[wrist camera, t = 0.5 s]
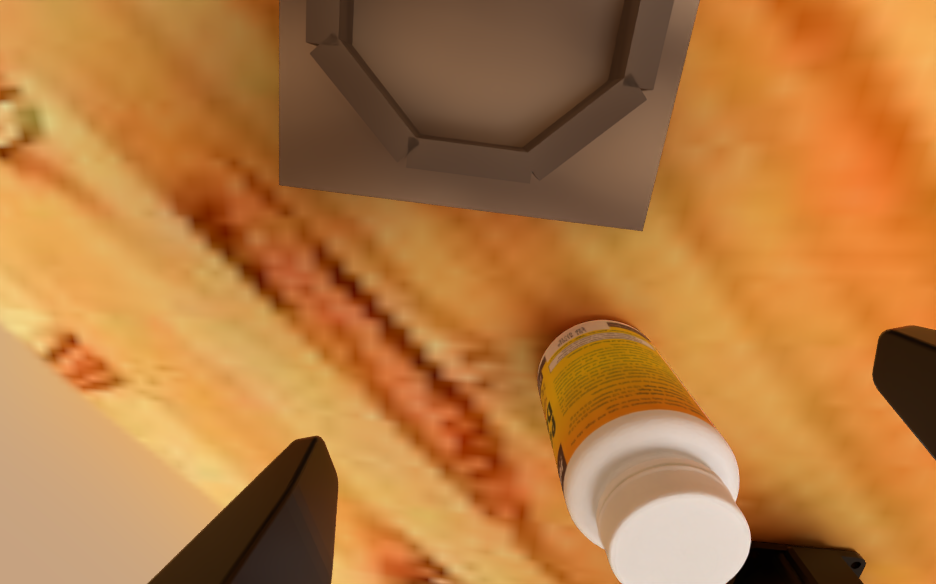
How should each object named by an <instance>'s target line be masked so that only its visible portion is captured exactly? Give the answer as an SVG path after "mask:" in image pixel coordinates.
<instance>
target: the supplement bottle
mask: <svg viewBox="0 0 936 584" xmlns="http://www.w3.org/2000/svg"><path fill="white" fill-rule="evenodd" d="M538 389H539V394H540V398H541V403H542V407H543V411H544V415H545V420H546V423H547V428H548V432H549V436H550V440H551V444H552V448H553V452H554V456H555V460H556V464H557V468H558V473H559V477H560V481H561V485H562V490H563V494H564V498H565V501H566V505H567V508H568V511H569V513H570V516H571V518H572V520H573V521H574V523H575V525H576V526H577V527H578V529H579V530H580V531H581V532H582V533H583V534H584V535H585V536H586V537H587V538H588V539H589V540H590V541H592V542H593V543H595V544H596V545H598V546H599V547H601V548H603V549H605V551H606V554H607V557H608V561H609V563H610V566H611V569H612V571H613V573H614V574H615V576H616V577H617V579H618V580H619V581H620V582H621V583H622V584H726V583H727V582H728V581H729V580H731V579H732V578H733V577H734V576H735V575H736V574H737V573H738V572H739V570H740V569H741V567H742V566H743V564H744V563H745V561H746V559H747V556H748V554H749V550H750V544H751V534H750V529H749V526H748V523H747V520H746V519H745V517H744V515H743V513H742V512H741V510H740V509H739V507H738V506H737V504H736V503H735V502H736V499H737V496H738V491H739V469H738V465H737V461H736V459H735V456H734V454H733V452H732V450H731V448H730V446H729V445H728V443H727V442H726V441H725V439H724V438H723V437H722V435H721V434H720V433H719V431H718V430H717V429H716V427H715V426H714V425H713V424H712V422H711V421H710V420H709V418H708V417H707V416H706V414H705V413H704V412H703V410H702V409H701V408H700V406H699V405H698V403H697V402H696V401H695V400H694V398H693V397H692V396H691V394H690V393H689V392H688V390H687V389H686V388H685V386H684V385H683V384H682V382H681V381H680V380H679V378H678V377H677V376H676V374H675V373H674V372H673V370H672V369H671V368H670V366H669V365H668V364H667V362H666V361H665V360H664V359H663V357H662V356H661V355H660V353H659V352H658V351H657V349H656V348H655V347H654V346H653V344H652V343H651V342H650V341H649V339H648V338H647V337H646V336H645V335H644V334H642V333H641V332H640V331H638V330H637V329H635V328H633V327H631V326H629V325H627V324H624V323H621V322H617V321H612V320H593V321H588V322H584V323H581V324H578V325H575V326H573V327H571V328H569V329H568V330H566V331H564V332H563V333H562V334H560V335H559V336H558V337H557V338H556V339H555V340H554V341H553V342H552V343H551V344H550V345H549V347H548V348H547V350H546V351H545V353H544V355H543V357H542V359H541V361H540V365H539V369H538Z"/></svg>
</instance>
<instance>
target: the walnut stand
mask: <svg viewBox="0 0 936 584" xmlns="http://www.w3.org/2000/svg"><path fill="white" fill-rule="evenodd" d="M699 1H700V0H279V185H282V186H290V187H298V188H306V189H313V190H321V191H329V192H337V193H345V194H353V195H361V196H369V197H377V198H385V199H392V200H400V201H408V202H416V203H424V204H432V205H440V206H448V207H456V208H464V209H472V210H479V211H487V212H495V213H503V214H511V215H519V216H527V217H535V218H543V219H551V220H559V221H566V222H574V223H582V224H590V225H598V226H606V227H614V228H622V229H630V230H638V231H643V227H644V223H645V219H646V215H647V211H648V207H649V203H650V199H651V195H652V191H653V187H654V183H655V178H656V174H657V170H658V166H659V162H660V158H661V154H662V150H663V146H664V142H665V138H666V134H667V130H668V126H669V122H670V118H671V114H672V110H673V106H674V102H675V98H676V94H677V90H678V86H679V82H680V78H681V74H682V70H683V66H684V62H685V58H686V54H687V50H688V46H689V42H690V38H691V33H692V29H693V25H694V21H695V17H696V13H697V9H698V5H699Z"/></svg>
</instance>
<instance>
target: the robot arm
mask: <svg viewBox="0 0 936 584" xmlns="http://www.w3.org/2000/svg"><path fill="white" fill-rule="evenodd" d="M872 376H873V381H874V384H875V386H876V388H877V389H878V391H879V392H880V393H881V394H882V396H883V397H884V398H885V399H886V400H887V402H888V403H889V404H890V405H891V407H892V408H893V409H894V410H895V411H896V413H897V414H898V415H899V416H900V417H901V419H902V420H903V421H904V422H905V424H906V425H907V426H908V427H909V428H910V430H911V431H912V432H913V433H914V435H915V436H916V437H917V438H918V439H919V441H920V442H921V443H922V444H923V445H924V447H925V448H926V449H927V450H928V452H929V453H930V454H931V455H932V456H933V458H934V459H935V460H936V330H933V329H928V328H924V327H919V326H904V327H899V328H893V329H888V330H886V331H884V332H882V333H881V335H880V336H879V339H878V344H877V349H876V355H875V361H874V366H873V373H872ZM337 499H338V478H337V473H336V470H335V468H334V465H333V463H332V460H331V458H330V455H329V452H328V450H327V447H326V445H325V442H324V441H323V439H322V438H321V437H319V436H312V437H307V438H301V439H297V440H295V441H293V442H292V443H291V444H290V445H289V446H288V447H287V448H286V449H285V450H284V451H283V452H282V453H281V454H280V455H279V456H278V457H277V458H276V459H274V460H273V461H272V462H271V463H270V464H269V465H268V466H267V467H266V468H265V469H264V470H263V471H262V472H261V473H260V474H259V475H258V476H257V477H256V478H255V479H254V480H253V481H252V482H251V483H250V484H249V485H248V486H247V487H246V488H245V489H244V490H243V491H242V492H241V493H240V494H239V495H238V496H237V497H236V498H235V499H234V500H233V501H231V502H230V503H229V504H228V505H227V506H226V507H225V508H224V509H223V510H222V511H221V512H220V513H219V514H218V515H217V516H216V517H215V518H214V519H213V520H212V521H211V522H210V523H209V524H208V525H207V526H206V527H205V528H204V529H203V530H202V531H201V532H200V533H199V534H198V535H197V536H196V537H195V538H194V539H193V540H192V541H191V542H190V543H189V544H187V546H185V547H184V549H182V550H181V551H180V552H179V554H177V555H176V556H175V557H174V558H173V559H172V560H171V561H170V562H169V563H168V564H167V565H166V566H165V567H164V568H163V569H162V570H161V571H160V572H159V573H158V574H157V575H156V576H155V577H154V578H153V579H152V580H151V581H150V582H149V583H148V584H331V579H332V569H333V556H334V542H335V527H336V513H337ZM865 565H866V562H865V560H864V559H863V558H862V557H861V556H860V554H858V553H857V552H852V551H842V550H832V549H822V548H813V547H803V546H793V545H783V544H774V543H764V542H754V541H752V542H751V544H750V550H749V554H748V556H747V559H746V561H745V563H744V564H743V566H742V567H741V569H740V570H739V572H738V573H737V574H736V575H735V576H734V577H733V578H732V579H731V580H729V581H728V582H727V584H863V583H862V581H861V580H860V579H859V577H860V575H861V573H862V571H863V569H864V567H865Z"/></svg>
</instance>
